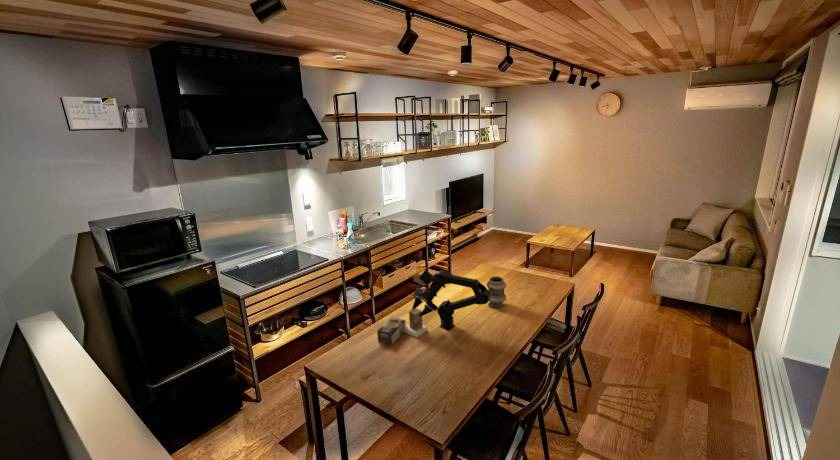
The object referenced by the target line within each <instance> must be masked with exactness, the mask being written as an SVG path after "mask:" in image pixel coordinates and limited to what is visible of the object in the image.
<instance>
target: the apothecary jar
mask: <svg viewBox="0 0 840 460" xmlns="http://www.w3.org/2000/svg"><path fill="white" fill-rule="evenodd" d="M486 288H487V289H488V290H489V291H490V292H491V298H490V299H489V301H488V303H487V306H488V308H490V309H495V310H501V309H504V308H505V304H504V302H505V301H506V300H507V296H506V294H505V289H506V288H507V283H506V281H504V278H503V277H502V276H498V275H497V276H495V275H494V276H492V277H490V278H489V280H488V281H487V282H486Z"/></svg>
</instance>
